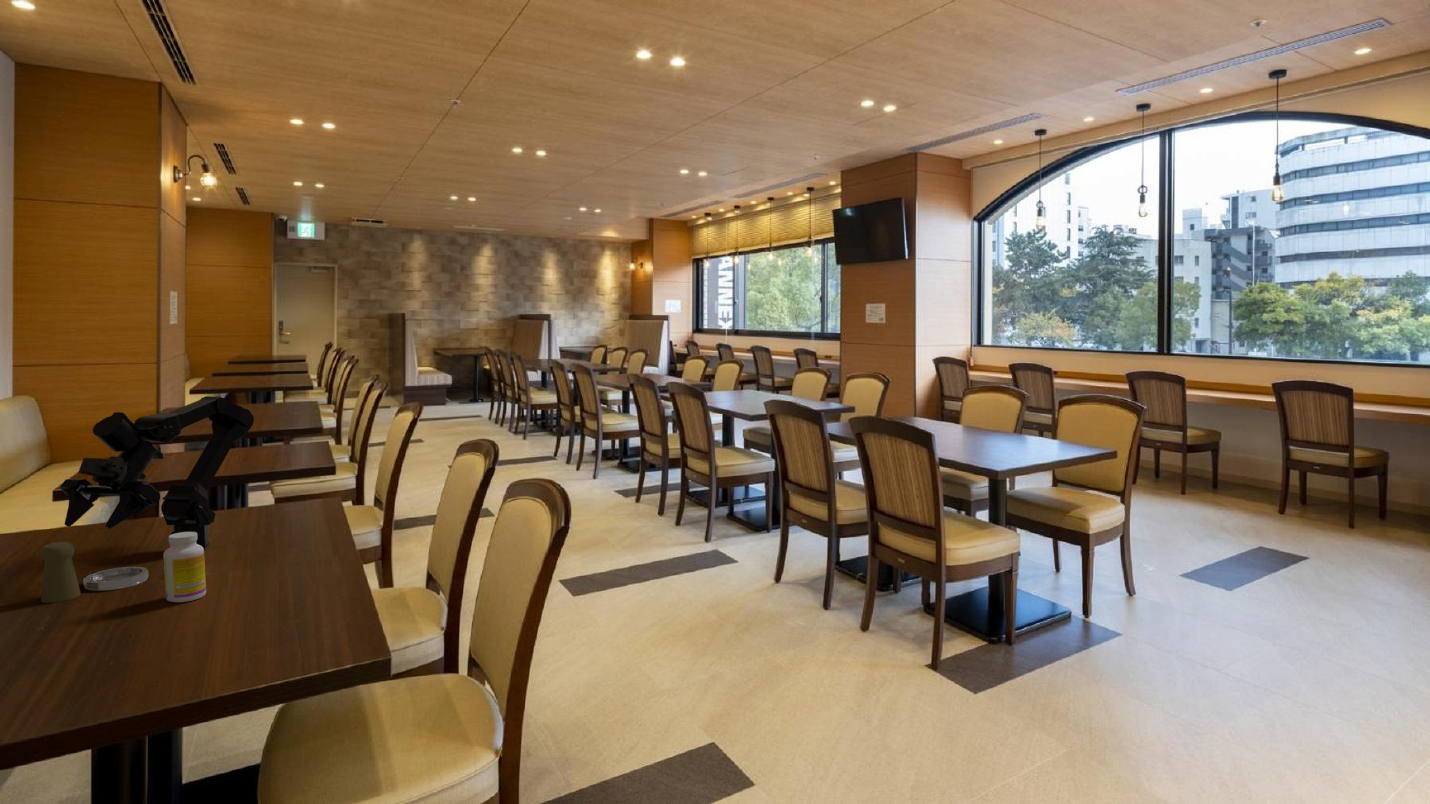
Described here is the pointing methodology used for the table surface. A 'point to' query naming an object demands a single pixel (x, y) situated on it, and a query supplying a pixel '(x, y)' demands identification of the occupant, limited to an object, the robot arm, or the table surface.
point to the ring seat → (115, 578)
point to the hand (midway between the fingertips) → (87, 526)
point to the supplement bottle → (184, 568)
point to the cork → (58, 573)
